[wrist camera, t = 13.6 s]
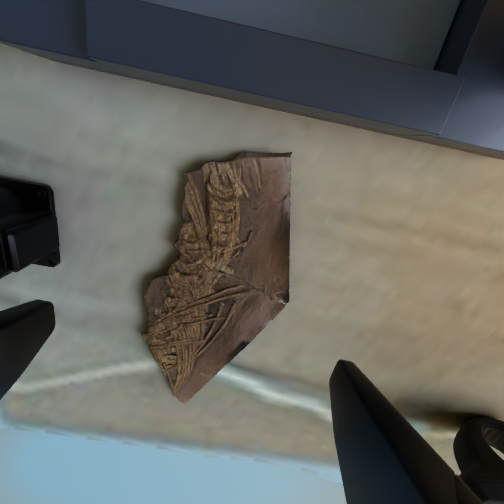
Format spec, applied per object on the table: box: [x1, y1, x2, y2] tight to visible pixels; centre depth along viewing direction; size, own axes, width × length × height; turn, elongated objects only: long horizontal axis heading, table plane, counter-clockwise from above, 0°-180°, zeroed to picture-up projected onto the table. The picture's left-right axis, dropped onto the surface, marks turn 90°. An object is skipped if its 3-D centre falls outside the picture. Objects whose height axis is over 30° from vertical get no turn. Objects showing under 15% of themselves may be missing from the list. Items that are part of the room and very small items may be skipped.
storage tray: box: [0, 0, 504, 160], centre depth 13 cm, size 30×9×6 cm, turn 79°
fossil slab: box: [142, 152, 292, 403], centre depth 23 cm, size 26×11×1 cm, turn 156°
